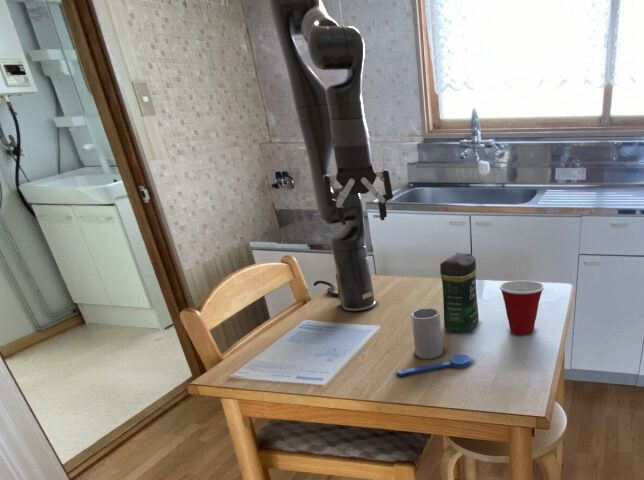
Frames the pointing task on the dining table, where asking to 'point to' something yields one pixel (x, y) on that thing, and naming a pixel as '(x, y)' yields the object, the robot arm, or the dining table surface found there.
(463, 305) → the coffee jar
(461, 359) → the spoon
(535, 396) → the dining table surface
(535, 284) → the plastic cup
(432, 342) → the gray cup
